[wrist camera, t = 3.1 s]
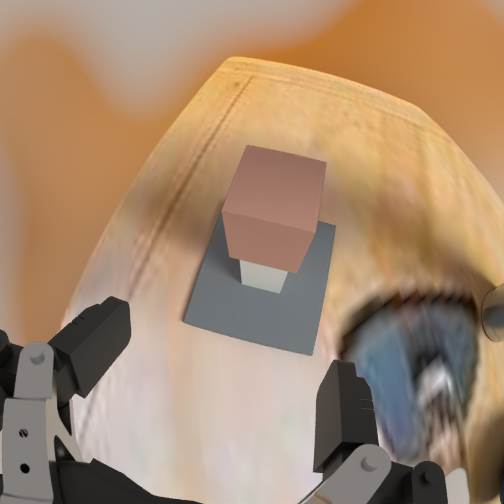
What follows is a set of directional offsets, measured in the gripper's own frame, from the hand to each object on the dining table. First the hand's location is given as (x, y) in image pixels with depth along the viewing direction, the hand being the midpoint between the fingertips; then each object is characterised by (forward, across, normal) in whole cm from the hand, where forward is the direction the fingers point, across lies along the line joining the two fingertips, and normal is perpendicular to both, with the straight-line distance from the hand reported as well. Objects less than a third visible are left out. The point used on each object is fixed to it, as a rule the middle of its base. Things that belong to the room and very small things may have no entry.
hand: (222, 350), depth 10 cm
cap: (+18, 0, +1) cm, 18 cm away
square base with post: (+25, 0, +9) cm, 27 cm away
